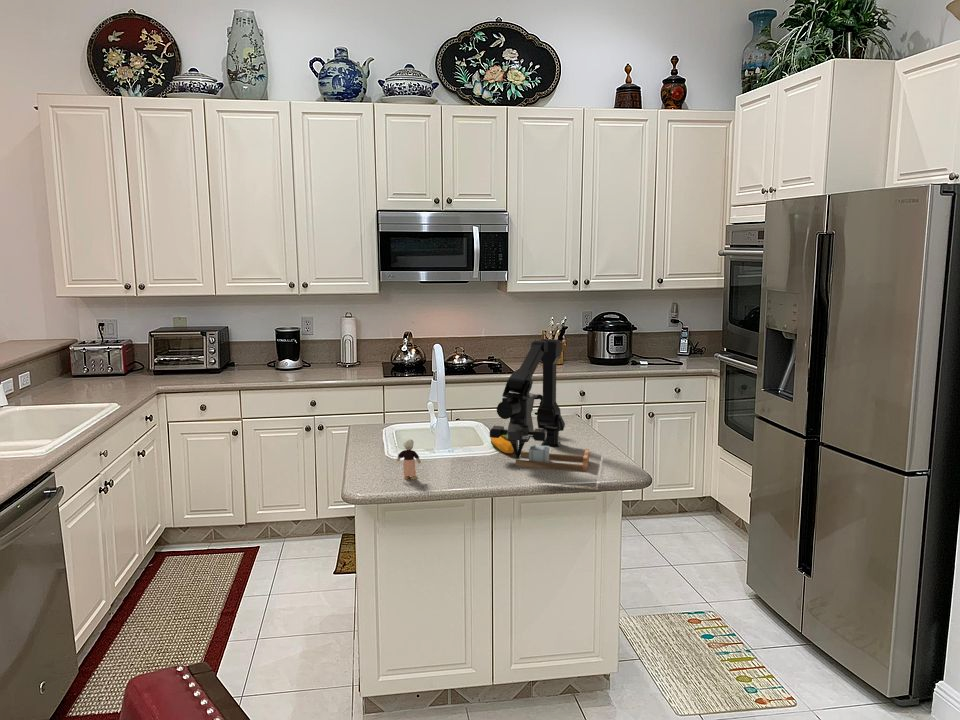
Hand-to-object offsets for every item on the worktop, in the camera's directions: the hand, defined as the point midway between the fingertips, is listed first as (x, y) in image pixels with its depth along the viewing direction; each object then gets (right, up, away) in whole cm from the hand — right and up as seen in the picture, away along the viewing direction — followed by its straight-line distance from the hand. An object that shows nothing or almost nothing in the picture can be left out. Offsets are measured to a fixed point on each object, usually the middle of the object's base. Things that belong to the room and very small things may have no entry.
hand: (517, 457), depth 242 cm
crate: (+7, -1, -1) cm, 7 cm away
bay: (+11, -2, -2) cm, 11 cm away
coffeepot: (+5, +4, +41) cm, 41 cm away
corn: (-4, 0, +14) cm, 14 cm away
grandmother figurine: (-35, -4, -16) cm, 39 cm away
